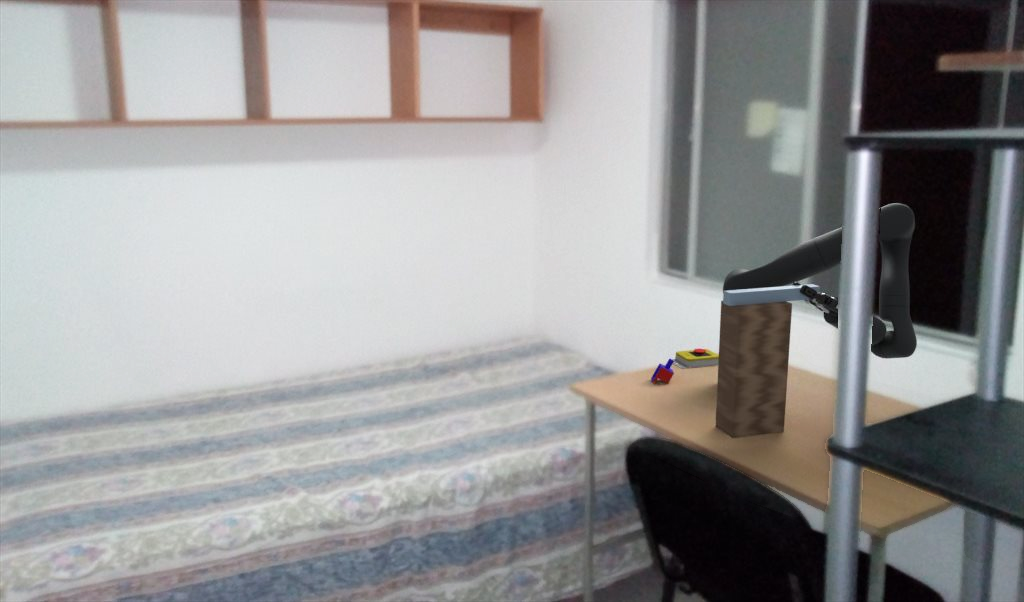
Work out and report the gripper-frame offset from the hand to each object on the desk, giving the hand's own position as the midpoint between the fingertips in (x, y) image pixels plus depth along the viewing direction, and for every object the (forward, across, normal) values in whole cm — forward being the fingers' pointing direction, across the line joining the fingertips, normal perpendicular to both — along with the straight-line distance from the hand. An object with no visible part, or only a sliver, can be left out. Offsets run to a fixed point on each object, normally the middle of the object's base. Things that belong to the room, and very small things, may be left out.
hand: (797, 286), depth 192 cm
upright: (-8, 0, +36) cm, 37 cm away
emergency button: (-21, -54, +29) cm, 65 cm away
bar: (+5, 0, +6) cm, 8 cm away
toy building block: (-5, -40, +38) cm, 55 cm away
